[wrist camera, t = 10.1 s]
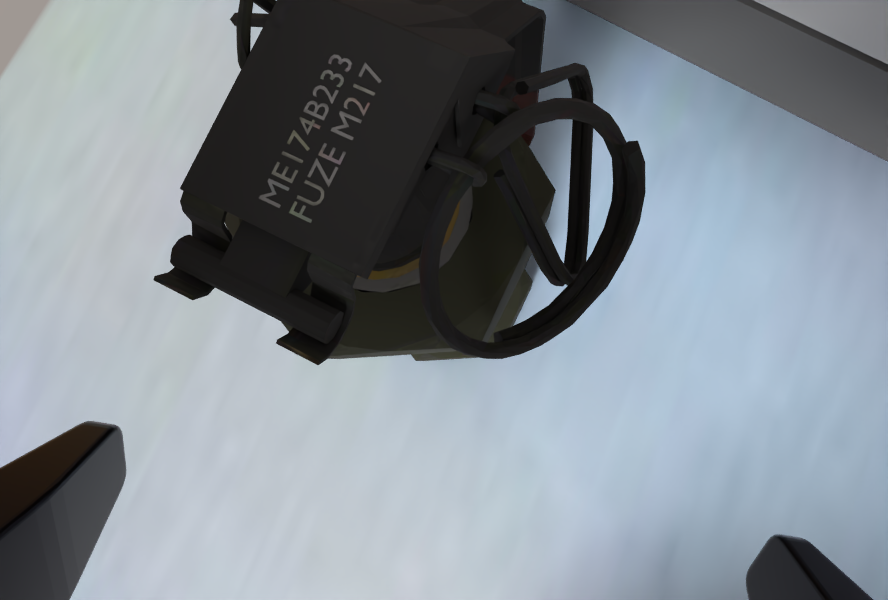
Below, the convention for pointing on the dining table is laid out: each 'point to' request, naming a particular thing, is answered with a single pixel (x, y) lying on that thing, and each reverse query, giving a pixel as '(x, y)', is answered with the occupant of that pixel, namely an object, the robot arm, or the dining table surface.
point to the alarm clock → (780, 53)
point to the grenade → (399, 181)
